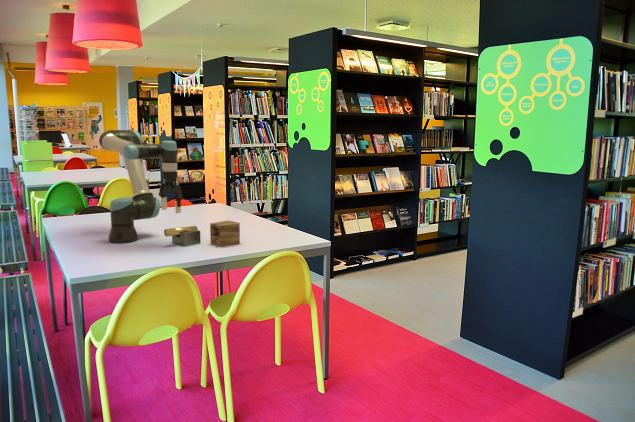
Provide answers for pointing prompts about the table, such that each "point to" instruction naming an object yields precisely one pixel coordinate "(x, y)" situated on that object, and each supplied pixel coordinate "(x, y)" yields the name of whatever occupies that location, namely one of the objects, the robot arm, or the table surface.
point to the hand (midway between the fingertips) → (171, 211)
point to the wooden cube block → (225, 233)
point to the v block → (187, 238)
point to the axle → (179, 230)
